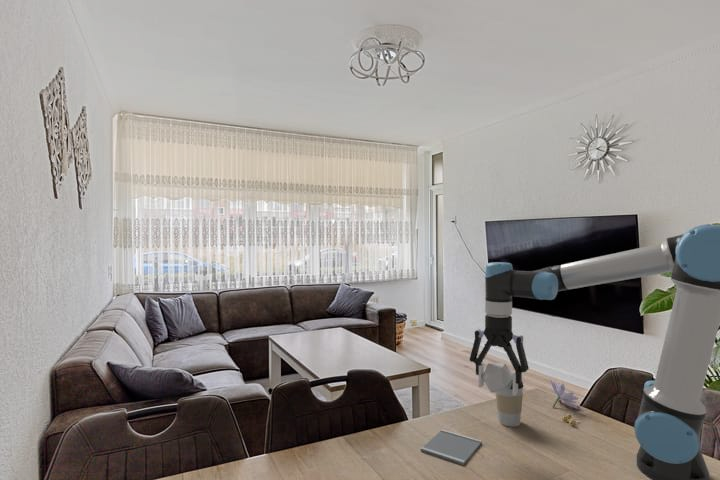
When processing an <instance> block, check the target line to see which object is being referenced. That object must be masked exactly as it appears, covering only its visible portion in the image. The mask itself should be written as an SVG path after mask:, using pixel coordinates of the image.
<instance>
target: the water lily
mask: <svg viewBox="0 0 720 480" xmlns="http://www.w3.org/2000/svg"><path fill="white" fill-rule="evenodd" d="M548 381H549V383H550V385H549V386H550V388H551V390H552V391H553V392H554V394H555V395H556V396H555V398H556V399H555V401H554V403H553V405H552V407H551V408H553V407H554V408H555V406H556V405H557V402H559V401H560V402H562V401H563V402H564V403H565V404H566V405H568V406H570V407H572V408H573V409H576V410H580V408H579V407H578V406H577V405H575V404H578V402H576V401H578V400H579V397H577V396H575V393H574V392H569V391H568V392H565V390H566V387H565V384H564V383H563V382H562V383H561V382H560V381H557V384H556V383H555V381H554V380H553V379H552V378H550V377H549V380H548Z"/></svg>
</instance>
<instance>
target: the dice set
mask: <svg viewBox="0 0 720 480" xmlns="http://www.w3.org/2000/svg"><path fill="white" fill-rule="evenodd" d="M561 419H562V422H563V421H564V422H563V423H567V422H568V421H569V422H568V423H569V424H568V426H570V427H575V423H576V424H580V423H581V421H580V420H575V419H574V418H573V417H572V414H570V413H567V414H566V415H565V416H564V415H563V416H562V418H561ZM568 419H569V420H568Z"/></svg>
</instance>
